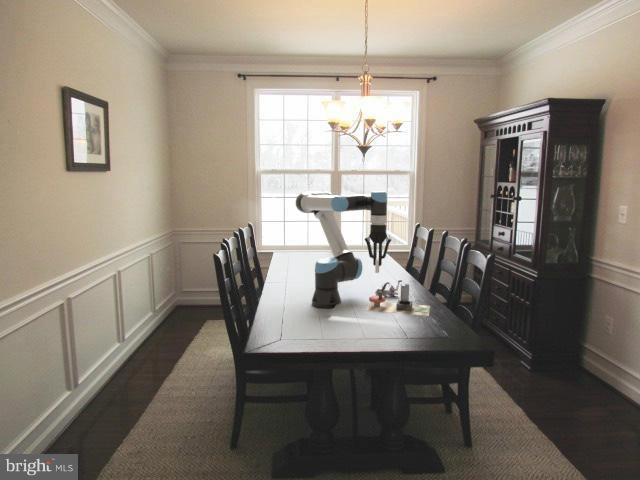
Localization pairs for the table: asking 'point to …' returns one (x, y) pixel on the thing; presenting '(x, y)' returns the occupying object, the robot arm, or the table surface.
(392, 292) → the figurine
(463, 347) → the table surface
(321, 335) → the table surface
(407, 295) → the peg
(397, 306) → the board
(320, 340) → the table surface
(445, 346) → the table surface
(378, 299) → the handwheel
